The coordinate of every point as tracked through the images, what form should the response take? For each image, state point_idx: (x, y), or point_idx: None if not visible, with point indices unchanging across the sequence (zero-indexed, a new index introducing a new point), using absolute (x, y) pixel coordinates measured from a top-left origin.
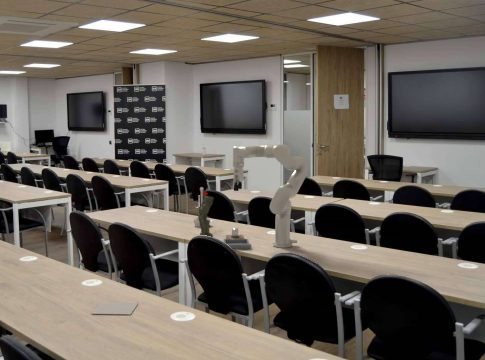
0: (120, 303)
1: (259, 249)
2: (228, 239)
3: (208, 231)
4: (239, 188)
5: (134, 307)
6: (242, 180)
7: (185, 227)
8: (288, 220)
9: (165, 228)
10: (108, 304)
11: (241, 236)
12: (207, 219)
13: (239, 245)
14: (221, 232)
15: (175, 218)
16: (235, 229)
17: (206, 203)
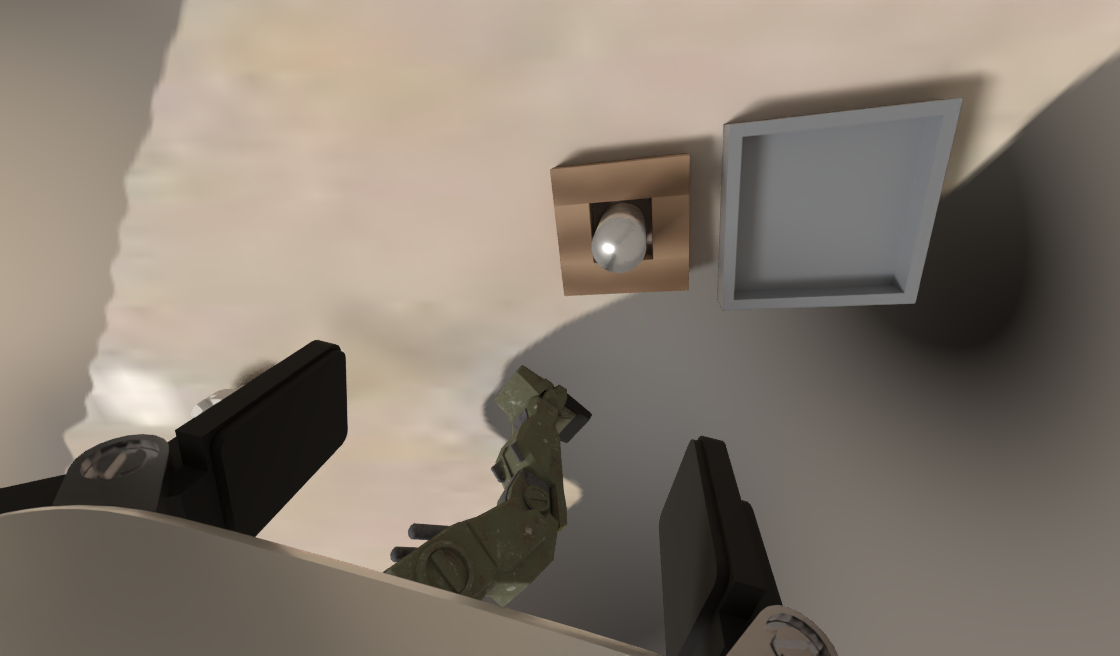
0: None
1: (972, 4)
2: (734, 278)
3: (547, 407)
4: (341, 398)
5: None
6: (286, 571)
7: (332, 485)
8: None
9: (376, 556)
10: None
11: (613, 183)
12: (207, 408)
13: (937, 190)
14: (405, 316)
15: None
16: (645, 243)
17: (493, 584)
